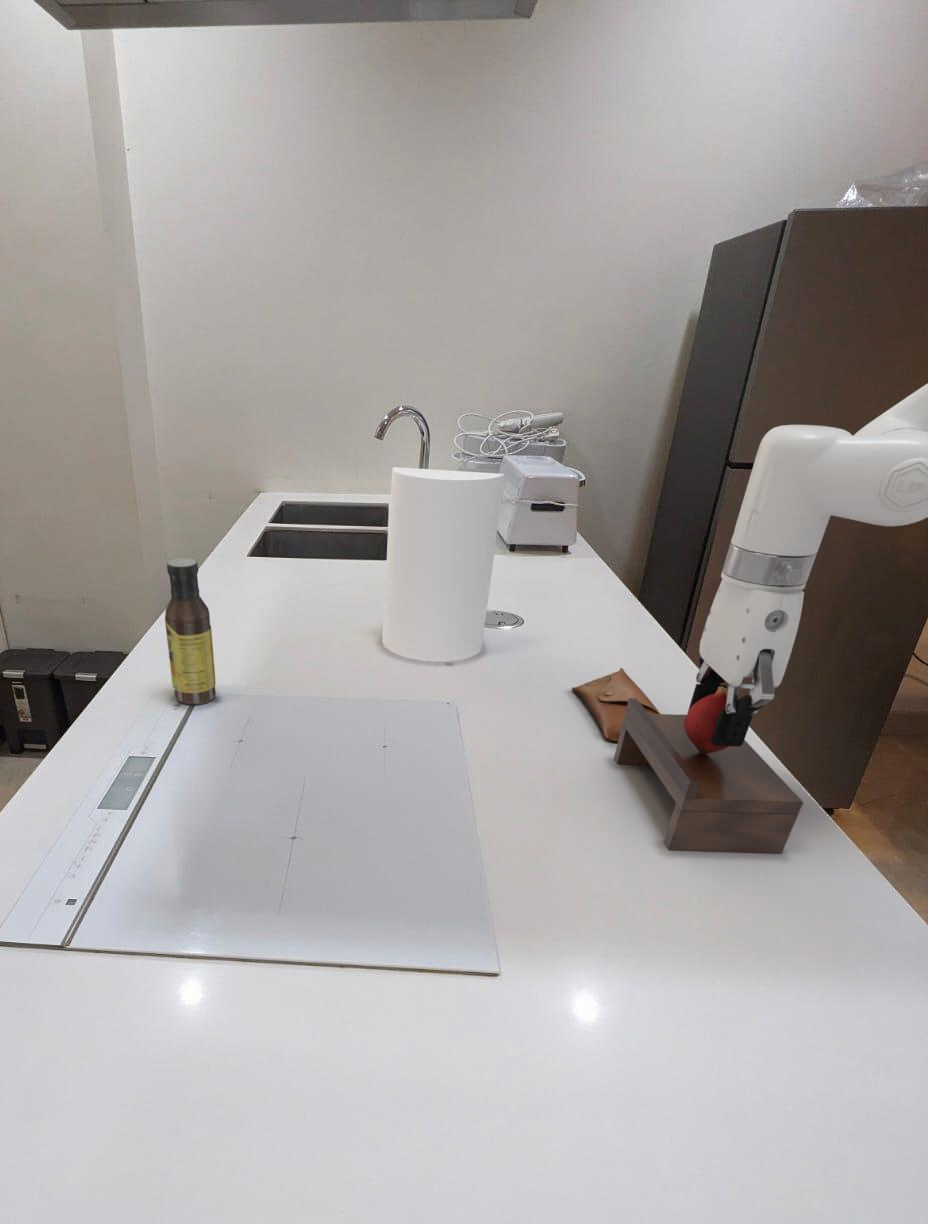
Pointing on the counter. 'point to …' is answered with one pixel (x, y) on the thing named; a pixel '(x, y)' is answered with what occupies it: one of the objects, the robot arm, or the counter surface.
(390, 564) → the cylinder
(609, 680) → the sunglasses case
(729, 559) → the robot arm
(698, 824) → the shelf
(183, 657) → the sauce bottle
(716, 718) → the onion
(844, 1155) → the counter surface
